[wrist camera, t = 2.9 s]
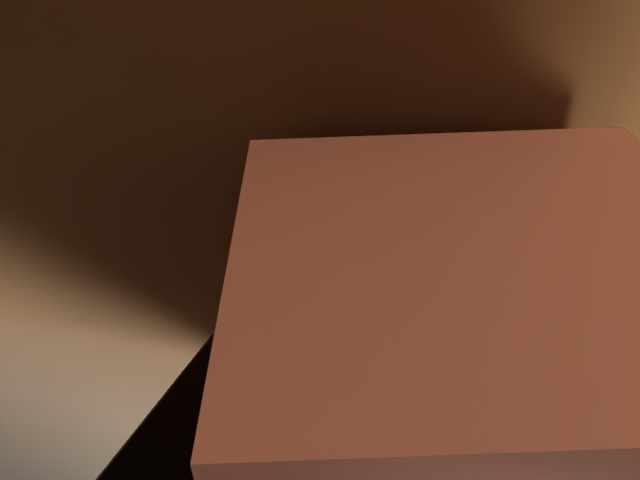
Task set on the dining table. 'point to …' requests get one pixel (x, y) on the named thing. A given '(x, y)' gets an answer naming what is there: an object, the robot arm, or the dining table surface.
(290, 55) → the dining table surface
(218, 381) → the terracotta cube
